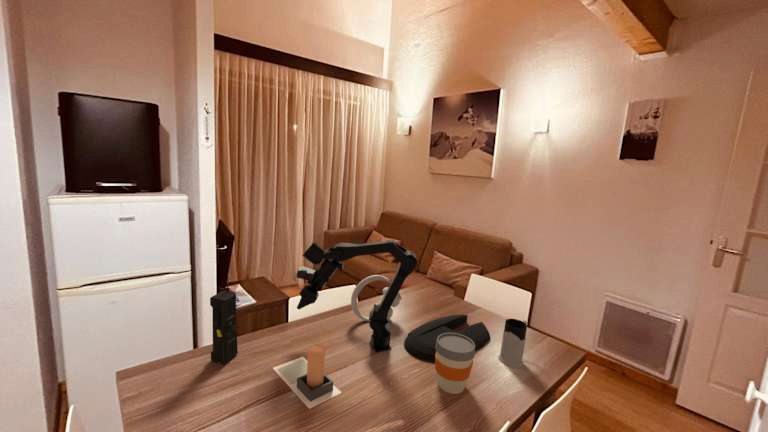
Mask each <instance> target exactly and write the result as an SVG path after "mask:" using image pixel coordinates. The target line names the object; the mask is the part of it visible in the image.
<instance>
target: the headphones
mask: <svg viewBox="0 0 768 432" xmlns="http://www.w3.org/2000/svg"><path fill="white" fill-rule="evenodd" d="M376 281H384V282H387V283H389V284H390V283H391V281H392V280H390V279H389V278H388V277H387V276H383V275H381V274H374V275H373V274H371V275H369V276H367V277H365V278H363V279H362V280H361V281H360V282H359V283H358V284H357V285H356V286H355V287H354V289H353V290H352V293H351V297H350V306H351V309H352V311H353V313H354V315H355V316H356V317H358V318H359V319H361V320H363V322H364V321H365V322H370V320H369V316H365V315H363V314H361V312H360V310H359V307H358V304H357V302H358V297H359V294H360V292H361V291H362V289H363V288H364V287H365V286H366V285H368V284H369V283H371V282H376ZM388 287H389V286H385V287H384V288H383V289H382V294H383V296H384V295H385V293H386V291H387V289H388ZM402 300H403V298H402V295H401V294H400V291H399V292H398V294H397V296H396V298H395V300H394V301H393V303H392V305H391V307H390V309H389V312H388V316H387V320H388V321H389V322H390V320H391V318H392V317H393V314H394V309H393V308H397V307H398V306H399V305H400V304H401V301H402ZM379 304H380V303H378V304H377V305H379ZM372 309H373V306H372V307H371V309H370V311H371V310H372Z"/></svg>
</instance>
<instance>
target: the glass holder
mask: <svg viewBox="0 0 768 432" xmlns="http://www.w3.org/2000/svg"><path fill="white" fill-rule="evenodd" d="M527 329H528V323H527V320H524V319H523V320H519V319H516V318H507V319H505V322H504V329H503V332H502V338H501V339H502V341H501V347H500V351H499V355H498V360H499V362H501V364H503V365H505V366H507V367H509V368H521V367H523V366H524V362H523V359H524V358H523V357H524V352H525V351H524V350H525V344H526V341H527V340H526V339H527V338H526V337H527V336H526V335H527Z"/></svg>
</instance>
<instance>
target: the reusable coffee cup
mask: <svg viewBox="0 0 768 432" xmlns="http://www.w3.org/2000/svg"><path fill="white" fill-rule="evenodd" d="M435 348H436V354H435V362H434V363H435V371H436V385H437V386H438V388H439V389H441V390H442V391H443V392H445V393H448V394H452V395H455V394H460V393H463V392H464V391H465V389H466V385H467V380H468V379H469V377H470V375H471V372H472V368H473V364H474V361H473V360H474V358H475V355H476V351H475V344H474V342H473V341H472V340H471V339H470V338H468V337H466V336H464V335H461V334H458V333H443V334H441V335H439V336H438V337H437V341H436V345H435Z"/></svg>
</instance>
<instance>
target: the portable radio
mask: <svg viewBox="0 0 768 432" xmlns="http://www.w3.org/2000/svg"><path fill="white" fill-rule="evenodd" d="M209 301H210V302H209V304H210V305H209V306H210V307H212V308H211V309H212V351H211V352H210V360H211V361H212V362H213V363H218V364H224V365H225V364H227V363H228V362H230V360H232V359H233V358H234V357H235V356H236V355H238V353H239V351H238V349H239V348H238V330H237V327H238V326H237V294H236V291H230V290H229V284H226V290H222V291H219V292H218V293H217V294H214V295H212V296H211V297H210V299H209Z"/></svg>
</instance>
